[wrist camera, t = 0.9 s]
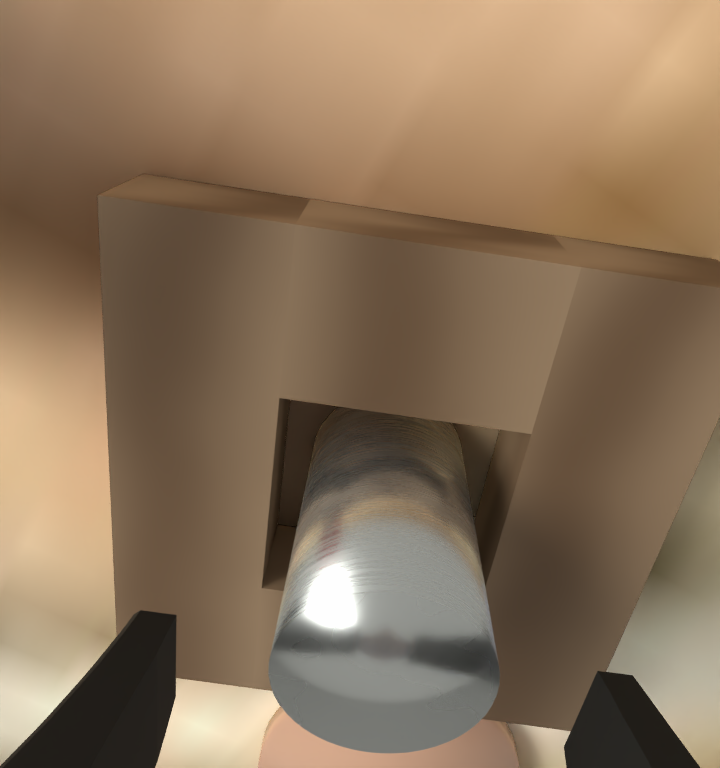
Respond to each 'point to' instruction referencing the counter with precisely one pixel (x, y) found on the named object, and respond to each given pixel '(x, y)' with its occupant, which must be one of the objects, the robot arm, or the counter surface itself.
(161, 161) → the counter surface
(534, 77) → the counter surface
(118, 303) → the pocket block
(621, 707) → the robot arm
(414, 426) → the round metal peg
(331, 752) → the coaster
